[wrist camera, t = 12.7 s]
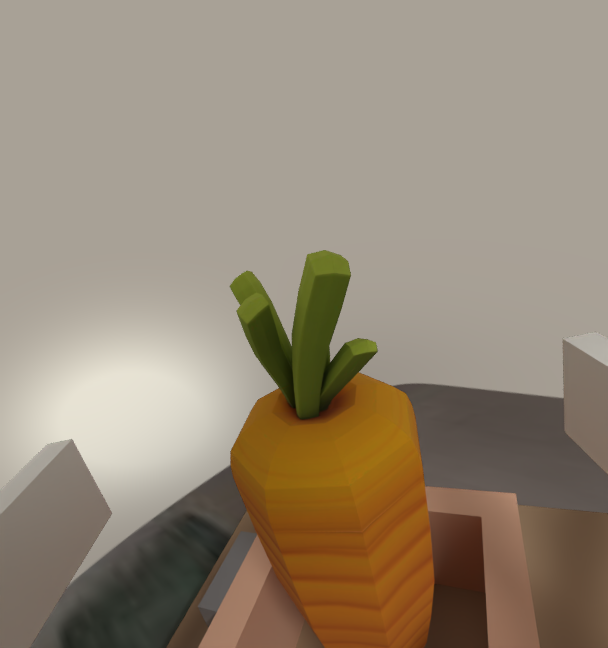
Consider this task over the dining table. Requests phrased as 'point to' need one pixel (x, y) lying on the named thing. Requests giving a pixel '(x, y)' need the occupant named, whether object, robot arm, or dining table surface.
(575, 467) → the dining table surface
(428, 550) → the carrot
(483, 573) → the pink square planter box
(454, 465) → the dining table surface
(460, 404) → the dining table surface
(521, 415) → the dining table surface
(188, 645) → the walnut board
